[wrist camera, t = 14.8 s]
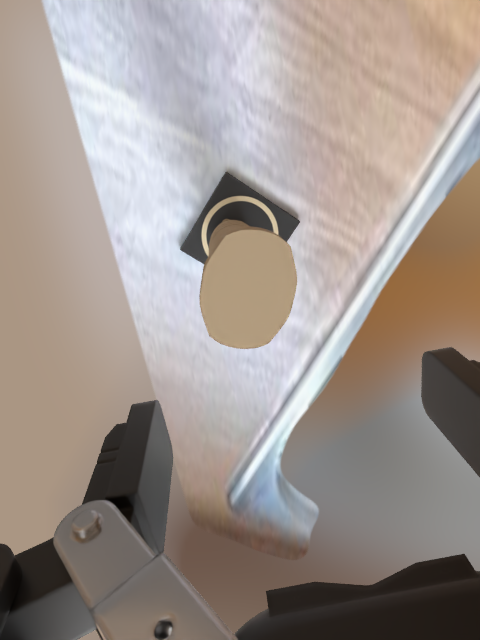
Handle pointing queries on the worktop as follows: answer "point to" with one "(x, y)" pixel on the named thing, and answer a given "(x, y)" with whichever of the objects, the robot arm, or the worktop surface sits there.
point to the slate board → (236, 215)
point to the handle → (246, 285)
